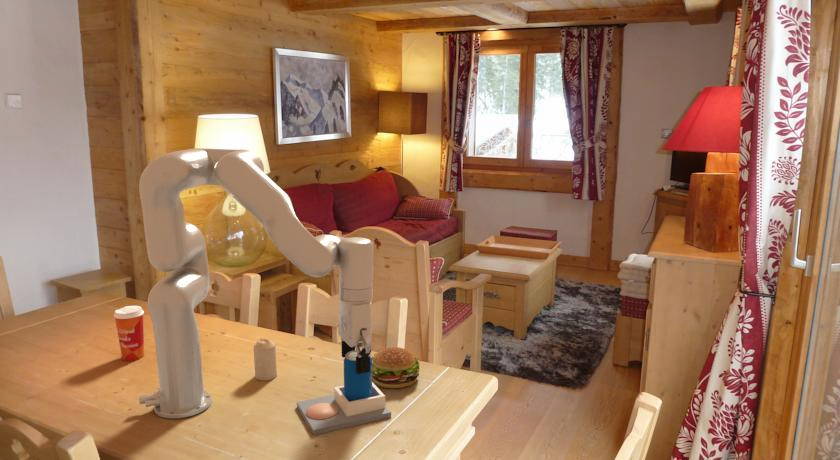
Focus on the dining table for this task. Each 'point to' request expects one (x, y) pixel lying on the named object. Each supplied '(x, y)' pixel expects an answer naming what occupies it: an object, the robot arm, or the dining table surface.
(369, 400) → the board
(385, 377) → the food
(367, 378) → the beverage can
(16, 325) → the dining table surface
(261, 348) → the candle
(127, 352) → the paper cup
